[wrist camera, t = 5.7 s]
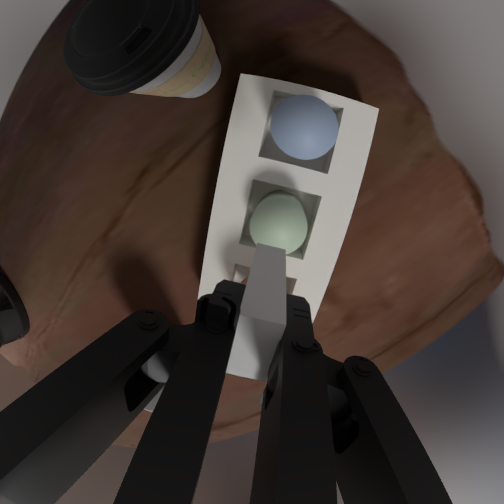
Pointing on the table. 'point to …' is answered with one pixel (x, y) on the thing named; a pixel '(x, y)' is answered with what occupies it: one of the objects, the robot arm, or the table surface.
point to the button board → (285, 187)
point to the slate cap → (304, 127)
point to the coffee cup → (141, 48)
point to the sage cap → (279, 221)
